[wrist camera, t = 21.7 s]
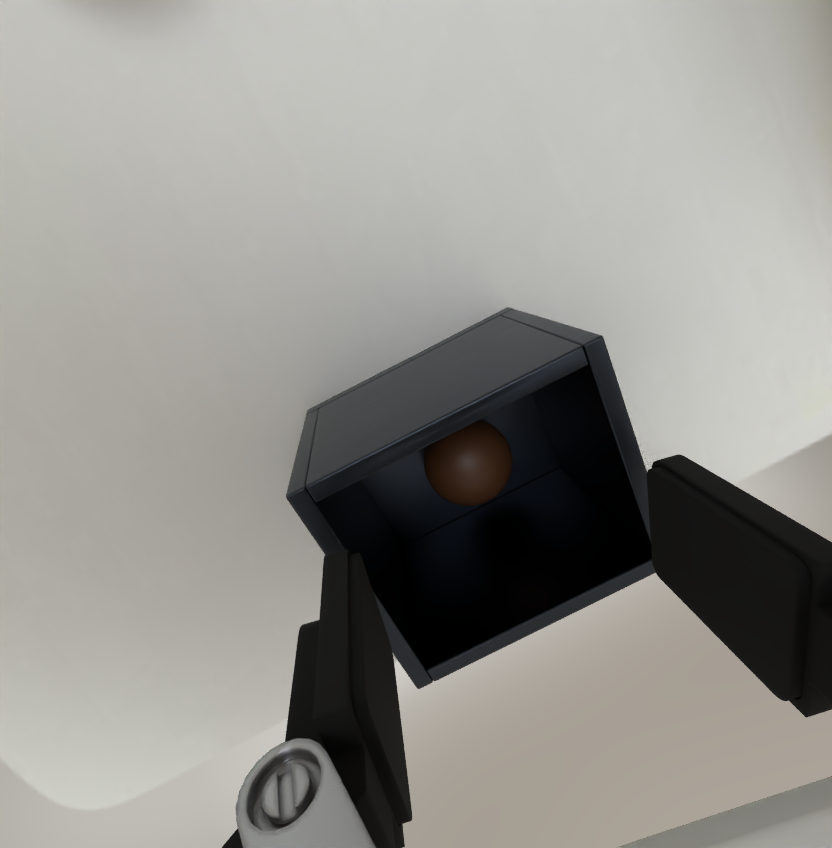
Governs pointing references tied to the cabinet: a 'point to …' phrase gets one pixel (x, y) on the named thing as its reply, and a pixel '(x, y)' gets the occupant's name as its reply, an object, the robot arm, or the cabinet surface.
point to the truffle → (469, 464)
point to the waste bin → (494, 520)
